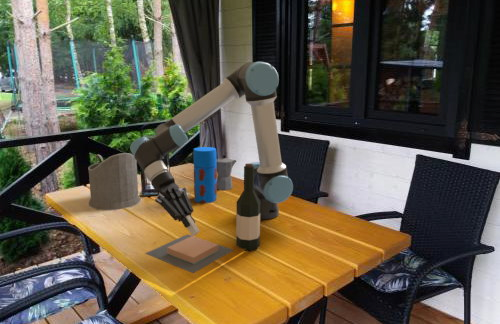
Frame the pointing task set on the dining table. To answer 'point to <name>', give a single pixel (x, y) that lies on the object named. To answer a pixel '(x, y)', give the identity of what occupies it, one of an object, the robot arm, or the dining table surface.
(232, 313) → the dining table surface
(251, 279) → the dining table surface
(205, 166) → the thermos
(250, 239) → the wine bottle
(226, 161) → the coffeepot
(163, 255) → the mat
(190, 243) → the tile
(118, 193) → the pitcher
